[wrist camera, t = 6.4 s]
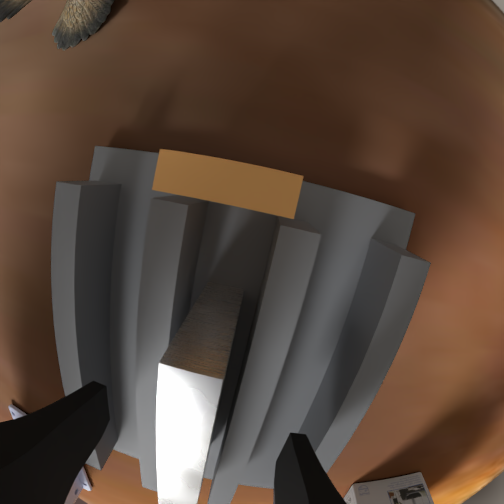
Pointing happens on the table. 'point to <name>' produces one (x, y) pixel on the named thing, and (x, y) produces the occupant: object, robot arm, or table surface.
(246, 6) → the table surface
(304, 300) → the slot rack
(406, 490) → the light bulb box
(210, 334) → the panel
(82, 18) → the eagle figurine
